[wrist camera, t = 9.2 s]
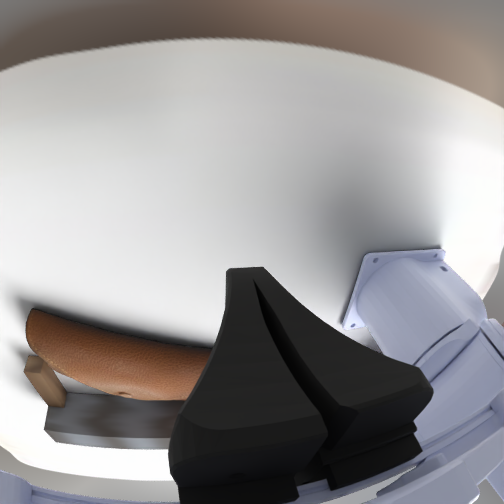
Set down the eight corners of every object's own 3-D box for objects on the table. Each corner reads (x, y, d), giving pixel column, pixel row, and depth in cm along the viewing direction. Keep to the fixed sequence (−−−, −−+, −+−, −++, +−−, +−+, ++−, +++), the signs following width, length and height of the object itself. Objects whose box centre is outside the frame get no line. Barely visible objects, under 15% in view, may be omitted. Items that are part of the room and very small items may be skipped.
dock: (310, 345, 27) (329, 387, 23) (294, 395, 32) (306, 432, 28) (28, 355, 22) (15, 397, 17) (61, 405, 26) (56, 442, 22)
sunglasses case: (40, 366, 22) (20, 396, 16) (45, 297, 23) (22, 312, 17) (211, 398, 29) (232, 431, 23) (226, 336, 29) (250, 359, 23)
